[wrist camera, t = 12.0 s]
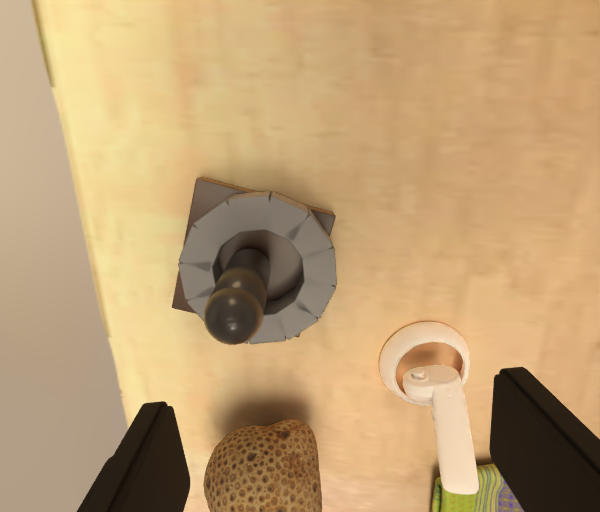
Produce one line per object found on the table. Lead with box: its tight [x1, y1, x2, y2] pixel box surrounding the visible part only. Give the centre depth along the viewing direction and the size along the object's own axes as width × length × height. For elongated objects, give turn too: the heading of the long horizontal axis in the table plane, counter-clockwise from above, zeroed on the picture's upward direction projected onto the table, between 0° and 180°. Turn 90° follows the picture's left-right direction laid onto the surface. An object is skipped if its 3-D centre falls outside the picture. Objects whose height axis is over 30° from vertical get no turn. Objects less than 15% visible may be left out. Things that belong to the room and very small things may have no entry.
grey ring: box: [178, 191, 337, 344], centre depth 26 cm, size 10×10×2 cm
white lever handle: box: [379, 321, 479, 495], centre depth 29 cm, size 8×12×7 cm
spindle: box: [172, 177, 335, 345], centre depth 23 cm, size 10×10×12 cm
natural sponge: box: [204, 419, 322, 512], centre depth 28 cm, size 9×9×10 cm
